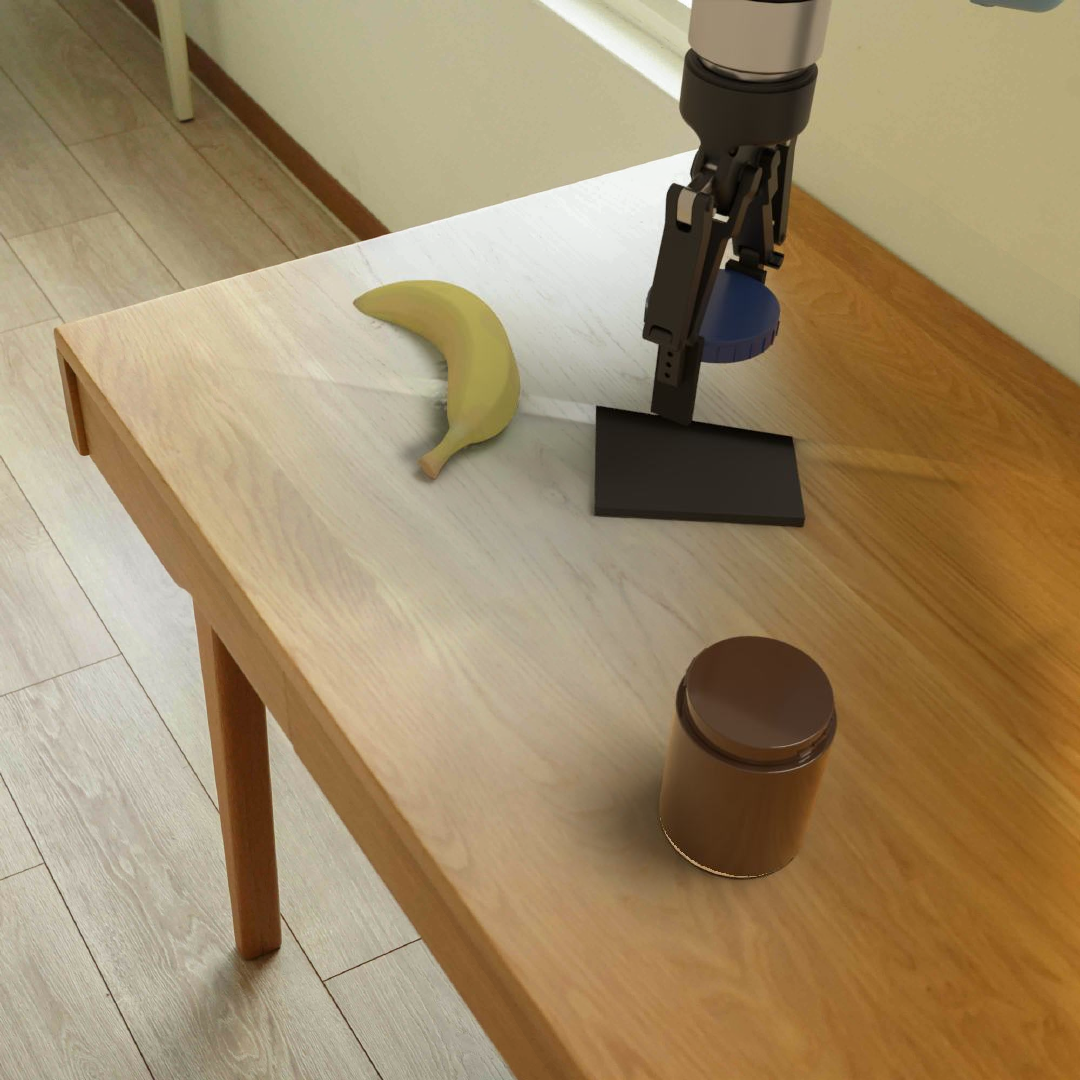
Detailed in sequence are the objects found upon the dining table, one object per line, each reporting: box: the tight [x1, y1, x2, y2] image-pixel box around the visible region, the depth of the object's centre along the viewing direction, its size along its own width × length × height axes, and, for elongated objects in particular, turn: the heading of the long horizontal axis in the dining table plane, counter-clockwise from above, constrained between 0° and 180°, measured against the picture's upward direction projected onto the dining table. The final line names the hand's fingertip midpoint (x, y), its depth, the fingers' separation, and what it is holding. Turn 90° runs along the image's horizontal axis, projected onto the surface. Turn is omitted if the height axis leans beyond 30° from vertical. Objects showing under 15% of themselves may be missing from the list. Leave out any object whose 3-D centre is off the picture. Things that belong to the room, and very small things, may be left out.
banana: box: [352, 279, 521, 480], centre depth 98 cm, size 14×6×20 cm
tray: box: [593, 404, 806, 527], centre depth 95 cm, size 14×14×1 cm
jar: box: [658, 635, 838, 877], centre depth 69 cm, size 8×8×10 cm
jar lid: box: [643, 267, 781, 364], centre depth 87 cm, size 9×9×2 cm
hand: (703, 380), depth 91 cm, fingers closed on jar lid, 9 cm apart
